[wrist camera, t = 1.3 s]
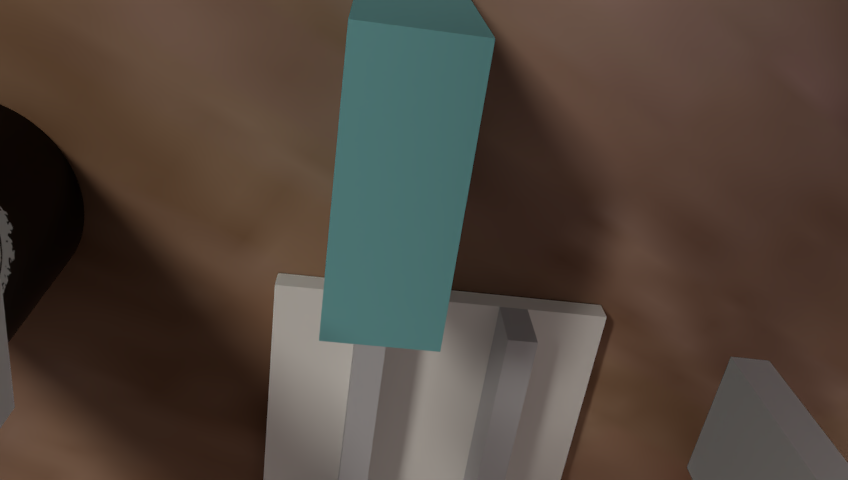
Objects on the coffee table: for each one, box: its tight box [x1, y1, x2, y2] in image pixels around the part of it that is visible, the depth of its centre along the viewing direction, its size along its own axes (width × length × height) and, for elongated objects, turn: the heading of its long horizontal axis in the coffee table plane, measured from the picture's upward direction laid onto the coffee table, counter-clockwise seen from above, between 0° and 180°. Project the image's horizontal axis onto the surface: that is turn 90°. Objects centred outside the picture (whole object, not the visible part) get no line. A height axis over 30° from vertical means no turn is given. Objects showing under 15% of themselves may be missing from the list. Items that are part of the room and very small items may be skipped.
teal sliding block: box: [319, 0, 495, 352], centre depth 24 cm, size 9×4×10 cm, turn 172°
